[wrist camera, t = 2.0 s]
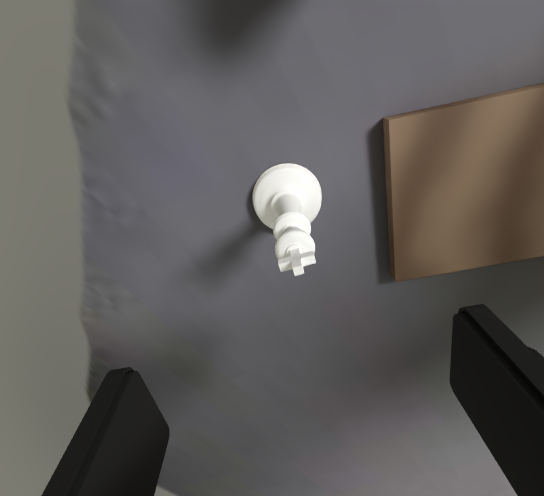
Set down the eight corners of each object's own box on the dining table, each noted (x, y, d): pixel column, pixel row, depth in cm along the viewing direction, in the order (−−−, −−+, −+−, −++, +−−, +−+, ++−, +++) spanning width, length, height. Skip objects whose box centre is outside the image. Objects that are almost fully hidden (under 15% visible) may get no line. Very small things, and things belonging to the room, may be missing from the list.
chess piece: (243, 174, 23) (226, 237, 14) (312, 154, 22) (342, 205, 13) (264, 236, 25) (261, 324, 16) (327, 219, 24) (362, 300, 15)
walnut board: (688, 51, 19) (713, 49, 18) (629, 231, 25) (645, 238, 24) (382, 117, 21) (388, 119, 20) (390, 273, 26) (395, 281, 25)
